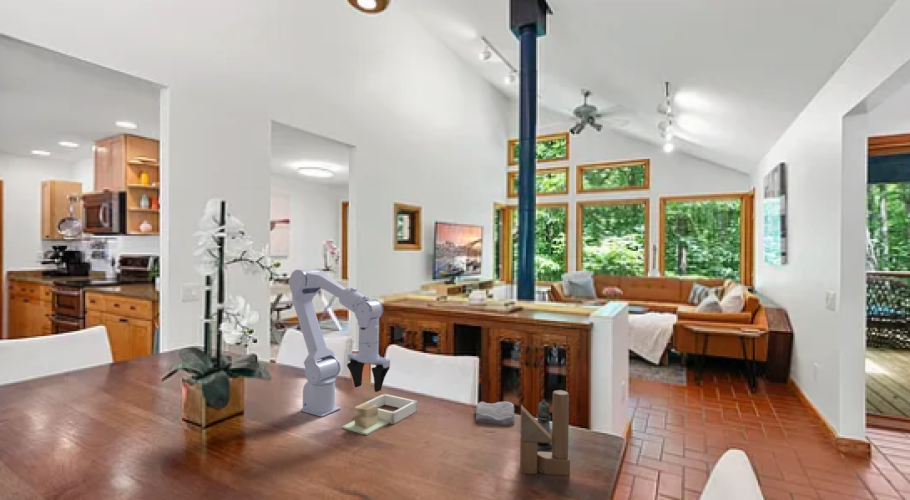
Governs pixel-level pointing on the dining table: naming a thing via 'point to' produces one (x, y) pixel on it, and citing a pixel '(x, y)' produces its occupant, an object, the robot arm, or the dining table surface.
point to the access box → (403, 404)
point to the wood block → (366, 415)
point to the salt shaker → (544, 424)
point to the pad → (365, 431)
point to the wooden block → (546, 440)
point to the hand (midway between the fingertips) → (367, 388)
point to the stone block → (495, 413)
